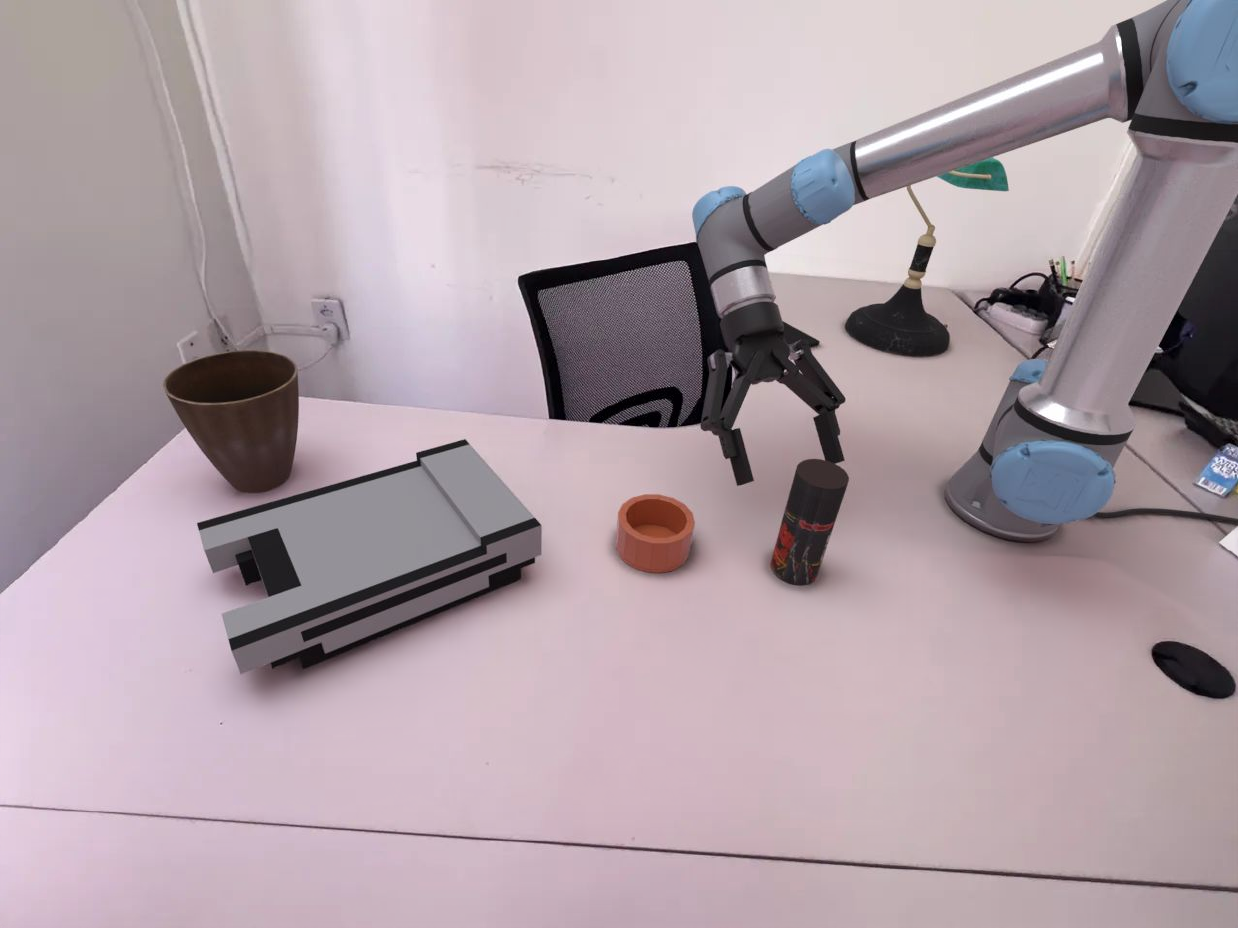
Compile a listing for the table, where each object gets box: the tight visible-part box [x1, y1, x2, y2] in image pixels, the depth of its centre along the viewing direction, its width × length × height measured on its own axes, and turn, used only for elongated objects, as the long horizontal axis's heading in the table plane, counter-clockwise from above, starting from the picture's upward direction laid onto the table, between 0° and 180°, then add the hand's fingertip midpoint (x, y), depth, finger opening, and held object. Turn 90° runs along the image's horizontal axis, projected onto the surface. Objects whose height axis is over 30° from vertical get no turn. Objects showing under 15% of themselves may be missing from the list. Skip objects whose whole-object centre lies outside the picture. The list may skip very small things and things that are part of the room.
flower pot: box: [162, 349, 300, 494], centre depth 87 cm, size 15×15×16 cm
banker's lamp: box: [844, 157, 1010, 358], centre depth 139 cm, size 26×23×40 cm
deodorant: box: [770, 458, 850, 586], centre depth 79 cm, size 6×6×15 cm
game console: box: [196, 438, 543, 675], centre depth 75 cm, size 21×32×8 cm, turn 125°
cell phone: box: [782, 320, 820, 348], centre depth 147 cm, size 9×18×1 cm, turn 31°
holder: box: [615, 493, 696, 574], centre depth 83 cm, size 10×10×5 cm
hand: (792, 473), depth 80 cm, fingers open, 13 cm apart
